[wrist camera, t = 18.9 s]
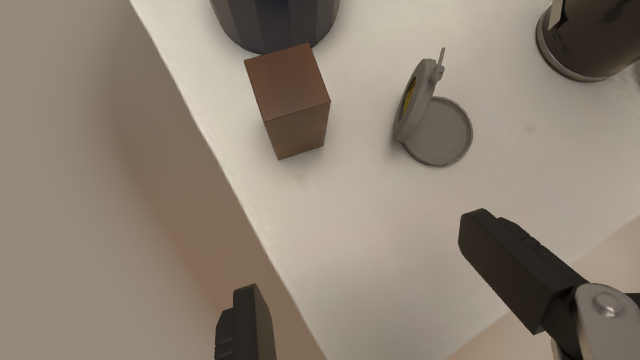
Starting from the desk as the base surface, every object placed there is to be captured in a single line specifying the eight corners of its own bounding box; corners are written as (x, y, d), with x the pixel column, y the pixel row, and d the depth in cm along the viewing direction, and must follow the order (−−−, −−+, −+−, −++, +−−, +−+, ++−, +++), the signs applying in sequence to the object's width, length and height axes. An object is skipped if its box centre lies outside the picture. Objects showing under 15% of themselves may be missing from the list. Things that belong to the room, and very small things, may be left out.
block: (308, 103, 28) (308, 41, 19) (323, 145, 27) (331, 101, 18) (263, 117, 27) (243, 59, 19) (277, 160, 27) (263, 122, 18)
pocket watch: (477, 156, 28) (572, 111, 18) (394, 180, 27) (443, 147, 17) (447, 79, 29) (518, -2, 19) (366, 100, 28) (398, 26, 18)
